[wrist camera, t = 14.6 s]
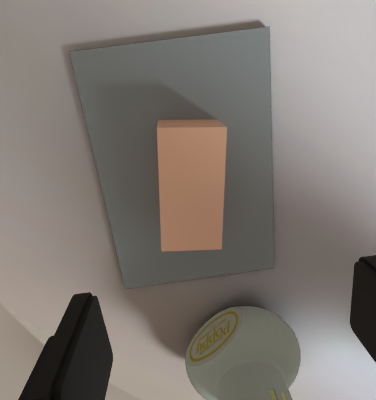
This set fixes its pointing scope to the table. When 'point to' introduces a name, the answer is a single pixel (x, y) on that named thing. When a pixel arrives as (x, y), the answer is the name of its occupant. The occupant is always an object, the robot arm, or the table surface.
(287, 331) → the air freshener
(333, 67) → the table surface
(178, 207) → the card box
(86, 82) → the mat
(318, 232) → the table surface
